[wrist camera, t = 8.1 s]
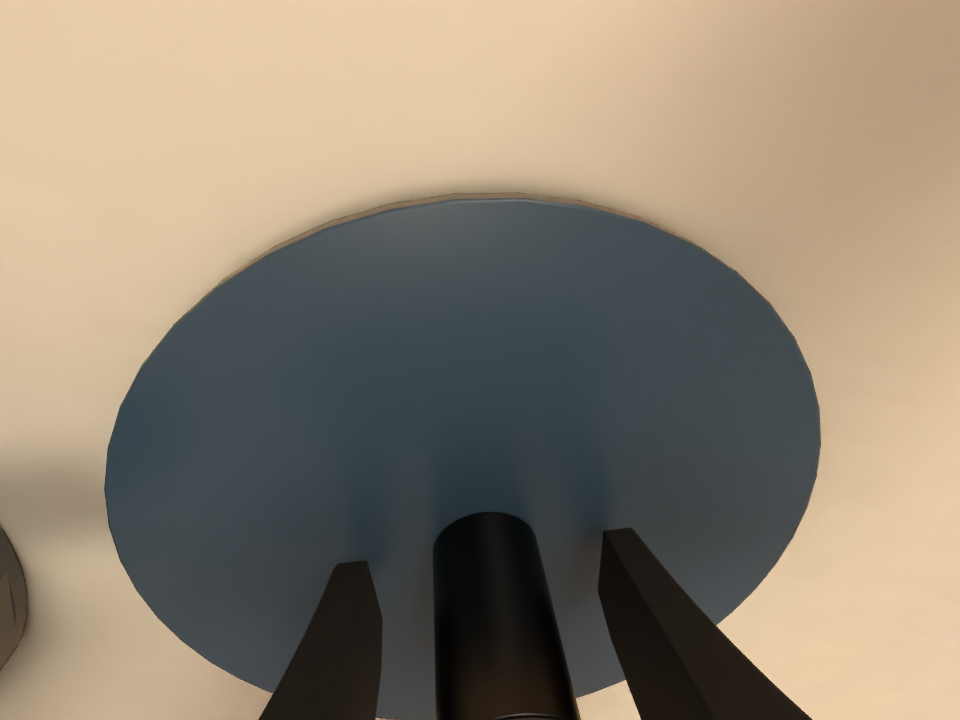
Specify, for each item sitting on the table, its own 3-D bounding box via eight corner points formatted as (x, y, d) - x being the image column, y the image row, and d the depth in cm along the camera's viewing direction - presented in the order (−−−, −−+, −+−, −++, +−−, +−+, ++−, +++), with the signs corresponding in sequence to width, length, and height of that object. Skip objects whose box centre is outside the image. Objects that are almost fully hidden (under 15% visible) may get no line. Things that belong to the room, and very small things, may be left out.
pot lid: (722, 647, 16) (831, 853, 12) (253, 712, 16) (186, 960, 11) (887, 150, 9) (1361, 220, 4) (-31, 225, 8) (-616, 409, 3)
